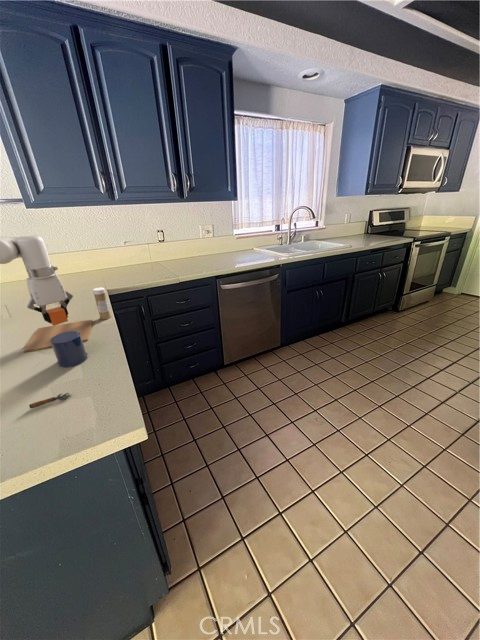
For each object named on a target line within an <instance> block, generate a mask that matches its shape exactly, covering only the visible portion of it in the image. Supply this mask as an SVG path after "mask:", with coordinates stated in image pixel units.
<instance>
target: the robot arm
mask: <svg viewBox="0 0 480 640" xmlns="http://www.w3.org/2000/svg"><path fill="white" fill-rule="evenodd" d="M19 258H21V260H22V262H23V265H24V267H25V269H26V270H25V271H26V273H27V276H28V277H26V285H27V289H28V293H29V296H30V299H29V301H28V303H27V306H26V308H27V309H29V310H32V311H36V312H38V313H41V315H42V319H43V320H44V322H46V323H48V324H50V323H51V319H50V317H49V314H48V313H47V311H46V310H47V305H52V304H55V303H58V304H59V305H60V307H61V308H63V309H64V310H65V313H66V316H67V319H68V318H69V316H68V315H69V311H68V305H69V304H70V301H71V300H72V299H73V297H74V295H73V294H71V293H70V292H68V291H66V290H65V286H64V285H63V282H62V281H61V279H60V277H59V275H58V274H57V272H56V271H58V266H57V265H55V266H53V265H52V262H51V259H50V255H49V252H48V250H47V245H46V243H45V240H44V239H43V237H42V236H40V235H38V234H36V235H35V234H33V235H32V234H31V235H21V236H0V265H6V264H9V263H11V262H12V261H14V260H16V259H19ZM35 305H36V306H35Z"/></svg>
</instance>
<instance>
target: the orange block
mask: <svg viewBox="0 0 480 640" xmlns="http://www.w3.org/2000/svg"><path fill="white" fill-rule="evenodd" d="M46 311H47V313H48V314H49V317H50V319H51V323H49V324H50V325H51V326H55V325H61V324H65V323H67V322H68V321H69V319H68V318H67V316H66V313H65V310H64V309H63V308H61V306H56V307H52V308H48V309H46Z"/></svg>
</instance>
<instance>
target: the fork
mask: <svg viewBox="0 0 480 640" xmlns="http://www.w3.org/2000/svg"><path fill="white" fill-rule="evenodd" d="M71 396H72V394H70V393H69V392H66V393H64V394H62V393H59V394H58V395H56V396H52V397H50V398H47V399H42V400H39V401H36V402H32V403H30V404H29V406H28V407H29V409H34V408H38V407H41V406H43V405H46V404H49V403H52V402H55V401H57V400H58V401H64V400H66V399H68V398H70V397H71Z"/></svg>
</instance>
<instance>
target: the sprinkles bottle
mask: <svg viewBox="0 0 480 640" xmlns="http://www.w3.org/2000/svg"><path fill="white" fill-rule="evenodd" d="M92 294H93V296H94V299H95V303H96V307H97V311H98V315H99V319H100V320H108V319H110V318H111V317H112V315H111V312H110V306H109V303H108V298H107V296H106V289H105V288H104V287H95V288H93V289H92Z"/></svg>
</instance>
